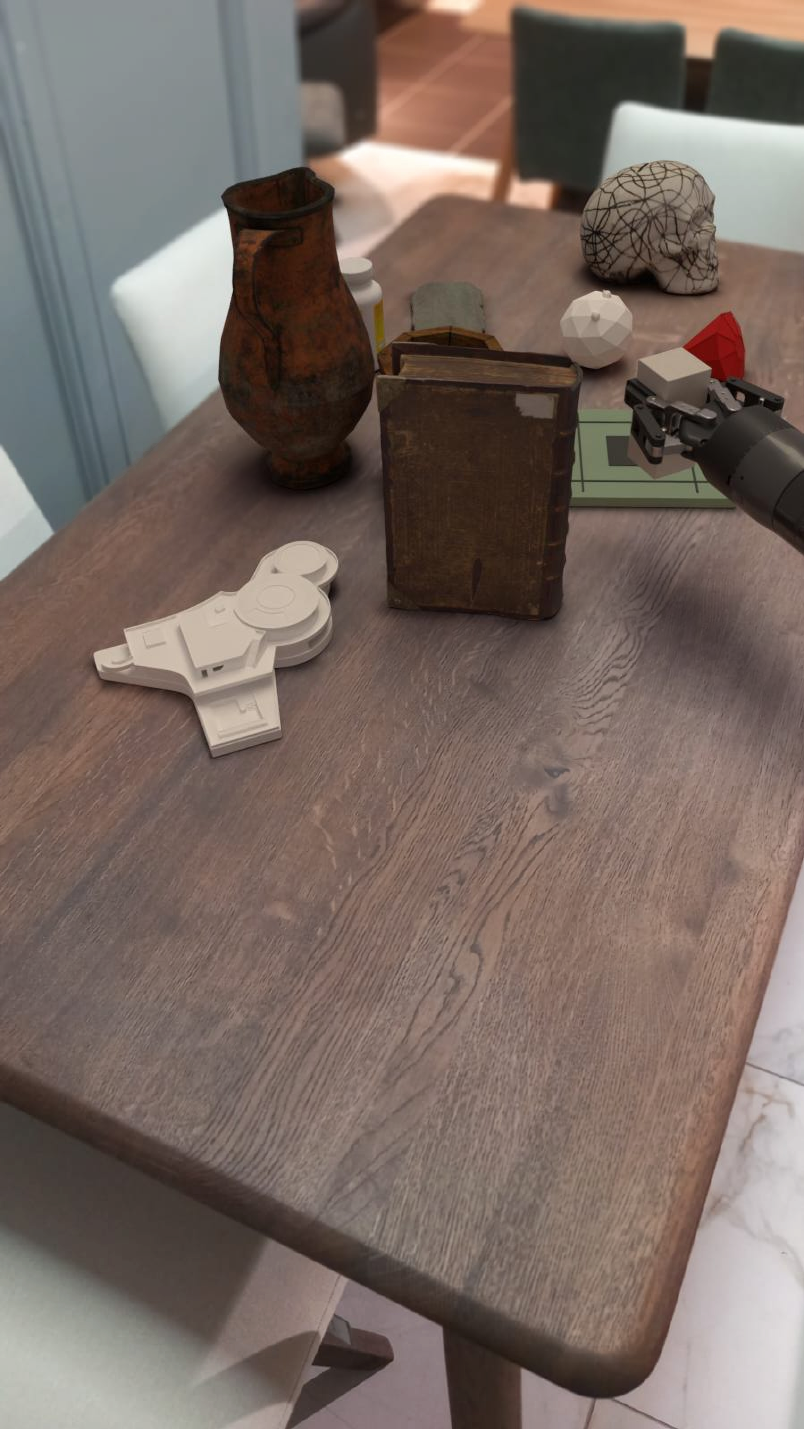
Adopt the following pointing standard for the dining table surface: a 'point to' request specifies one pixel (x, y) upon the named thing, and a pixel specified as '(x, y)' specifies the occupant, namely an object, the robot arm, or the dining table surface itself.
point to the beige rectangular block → (671, 399)
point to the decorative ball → (596, 329)
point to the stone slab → (448, 306)
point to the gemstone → (720, 347)
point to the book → (477, 477)
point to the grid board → (628, 470)
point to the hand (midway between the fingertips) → (653, 381)
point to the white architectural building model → (235, 646)
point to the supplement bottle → (366, 299)
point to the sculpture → (653, 228)
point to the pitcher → (292, 330)
